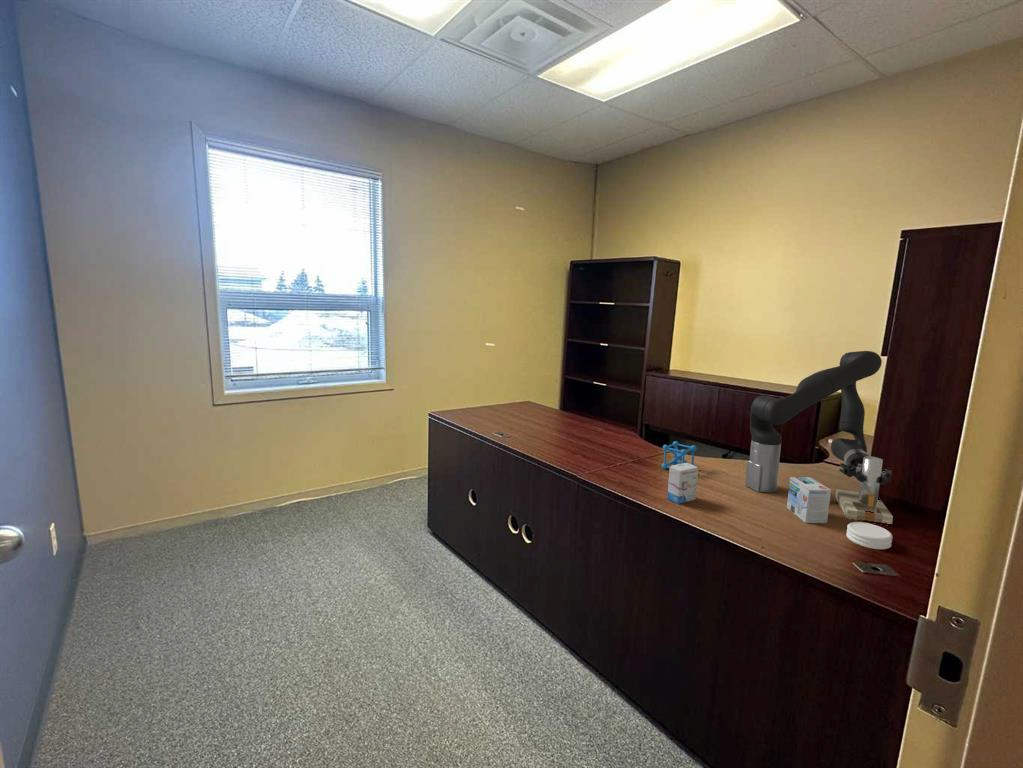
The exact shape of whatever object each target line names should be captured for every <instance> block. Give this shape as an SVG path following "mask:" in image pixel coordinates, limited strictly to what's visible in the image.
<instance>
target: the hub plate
mask: <svg viewBox="0 0 1023 768" xmlns="http://www.w3.org/2000/svg"><path fill="white" fill-rule="evenodd" d="M835 490H836V491H835V499H836V502H837V503H838V505H839V507H840V508H842V509H841V511H842V510H843V511H842V513H843V512H844V513H843V515H844V516H845V518H846V517H847V518H851V519H852V518H853V519H862V520H868V521H874V522H881V523H887V524H892V525H893V520H894V516H893V515H892V513H891V512H890V510H889V509H888V508H887V506H886V505H885V503H884V502H883V501H882V500H881V499H880V500H877V505H873V507H870V506H868V505H867V504H863V503H861V502H859V501H858V498H859V491H854V490H846V489H840V488H836V489H835ZM865 511H871V512H874V513H870V512H865ZM847 518H846V519H847ZM851 519H850V520H851Z"/></svg>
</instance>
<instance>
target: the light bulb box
mask: <svg viewBox="0 0 1023 768" xmlns="http://www.w3.org/2000/svg"><path fill="white" fill-rule="evenodd" d="M831 493H832V489H830V488H829V487H827V486H826V485H824V484H822V483H821V482H819V481H818V480H815V479H814V478H812V477H811V476H810V477H809V476H807V477H806V476H805V477H803V476H802V477H800V476H795V477H794V476H791V477H789V485H788V493H787V494H788V495H787V500H786V501H787V502H786V503H787V504H786V508H787V509H788V510H789V511H790V512H791V513H793V515H795V516H796V517H798V518H799V519H800V520H801V522H804V523H805V524H827V523H828V518H829V510H830V501H831Z"/></svg>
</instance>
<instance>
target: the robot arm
mask: <svg viewBox="0 0 1023 768" xmlns="http://www.w3.org/2000/svg"><path fill="white" fill-rule="evenodd" d="M882 361H883V360H882V358H881V356H880V355H879V354H878V353H877V352H875V351H872V350H871V351H870V350H862V351H858V350H857V351H850V352H846V353H844V354H843V355H841V358H840V361H839V365H838V366H835V367H834V366H833V367H829V368H826V369H823V370H819V371H817V372H814V373H812V374H810V375H809V376H806V377H805V378H803V379H801V380H800V382H799V383H798V384H797V387H796V390H795V392H794V393H791V394H789V395H788V396H785V397H781V398H777V397H773V396H768V395H759V396H757V397H755V398H754V400H753V401H752V404H751V406H750V415H749V432H750V434H751V442H750V451H749V453H750V454H749V460H747V462H746V470H745V471H746V472H745V485H744V486H745V487H747V488H748V489H751V490H753V491H756V492H758V493H761V492H762V493H775V492H777V487H778V477H779V470H780V469H779V468H780V458H781V457H780V456H781V447H782V440H783V439H782V435H781V434H780V433H779V432H778V430H776V429H775V428H774V426H779V425H783V424H785V423H786V422H788V421H789V420H791V419H793V418H794V417H795V416H797V415H798V414H800V413H801V412H802V411H804V410H806V409H807V408H809V407H811V406H814V404H816V403H818V402H820V401H823V400H825V399H826V398H828V397H830V396H832V395H833V394H835V393H837V392H839V391H840V393H841V410H840V411H841V412H840V418H839V430H840V431H841V432H844V433H848V434H850V435H852V436H853V438H854V439H849V438H843V437H842V438H841V437H838V438H835V439H834V440H833V441H832V442H831V444H830V445H831V446H830V451H831V453H832V455H833V456H834V457H835V458H837V459H839V460H841V461H843V462H844V463H843V462H842V463H840V464H839V472H840V473H842V474H843V475H845V476H846V477H848V478H852V477H854V479H855V480H857V481H859V482H864V475H863V474H862V467H863V459H864V457H865V456H871V455H870V454H869V453H868V448H867V444H866V439H865V433H864V425H865V416H866V415H865V414H866V410H865V406H864V404H863V402H862V400H861V399H862V398H861V397H860V395H859V393H858V389H857V382H858V381H861V380H863V379H866V378H868V377H872V376H874V375H875V374H876V373H877V372H878V371H879V370H880V368H881V367H882ZM882 470H883V469H882ZM882 470H881V477H880V484H881V486H885V485H887V484H888V483H890V482H891V479H892V473H893V472H892V471H893V470H887V468H886V469H884V470H885V471H882Z"/></svg>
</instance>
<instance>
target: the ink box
mask: <svg viewBox="0 0 1023 768" xmlns="http://www.w3.org/2000/svg"><path fill="white" fill-rule="evenodd" d="M694 465H695V464H694ZM694 465H692V463H689V462H688V463H685V462H684V463H683V464H676V465H674V464H671V466H669V467H670V468H669V469H668V470H669V474H668V482H667V484H668V486H667V495H666V496H667V497H666V498H667V500H669V501H671V502H673V503H675V504H677V505H680V504H683V503H687V502H690V501H694V500H696V498H697V497H696V496H697V495H696V494H697V484H698V476H699V475H698V473H699V466H696V465H695V466H694Z"/></svg>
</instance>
